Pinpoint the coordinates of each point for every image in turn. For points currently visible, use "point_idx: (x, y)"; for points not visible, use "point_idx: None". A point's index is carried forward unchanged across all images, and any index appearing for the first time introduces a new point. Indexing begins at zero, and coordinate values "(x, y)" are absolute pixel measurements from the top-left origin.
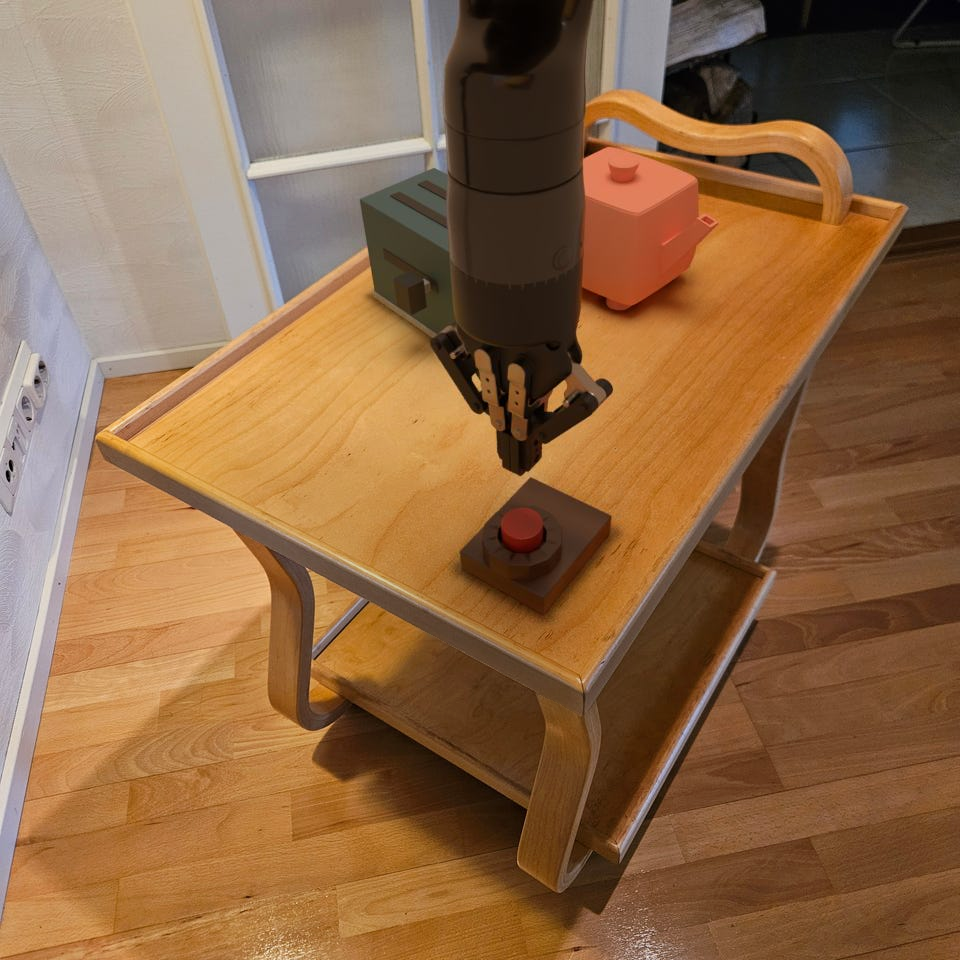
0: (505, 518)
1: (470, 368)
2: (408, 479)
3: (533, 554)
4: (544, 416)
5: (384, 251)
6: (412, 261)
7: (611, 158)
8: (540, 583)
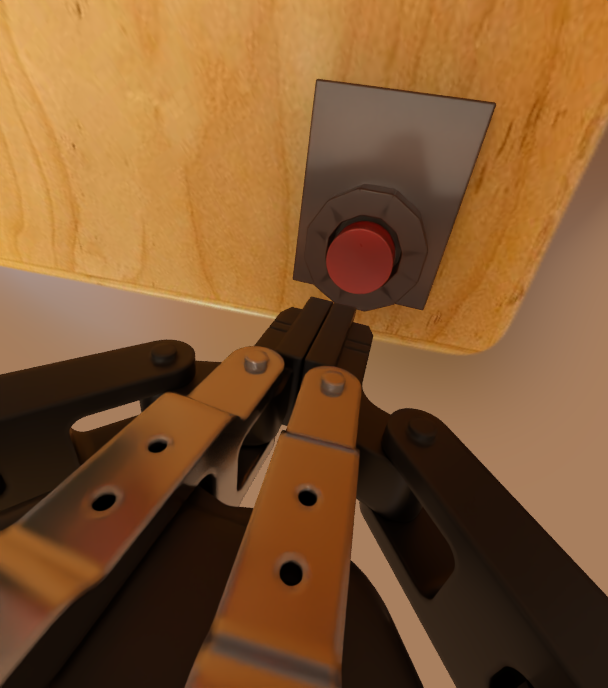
0: (331, 264)
1: (49, 470)
2: (160, 152)
3: (392, 284)
4: (368, 475)
5: None
6: None
7: None
8: (411, 291)
